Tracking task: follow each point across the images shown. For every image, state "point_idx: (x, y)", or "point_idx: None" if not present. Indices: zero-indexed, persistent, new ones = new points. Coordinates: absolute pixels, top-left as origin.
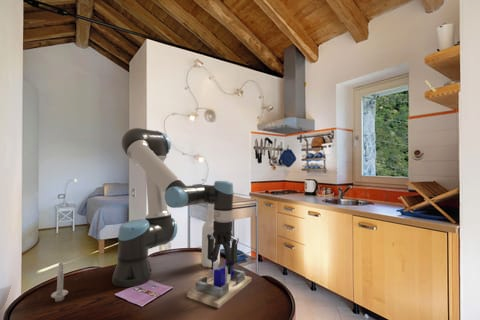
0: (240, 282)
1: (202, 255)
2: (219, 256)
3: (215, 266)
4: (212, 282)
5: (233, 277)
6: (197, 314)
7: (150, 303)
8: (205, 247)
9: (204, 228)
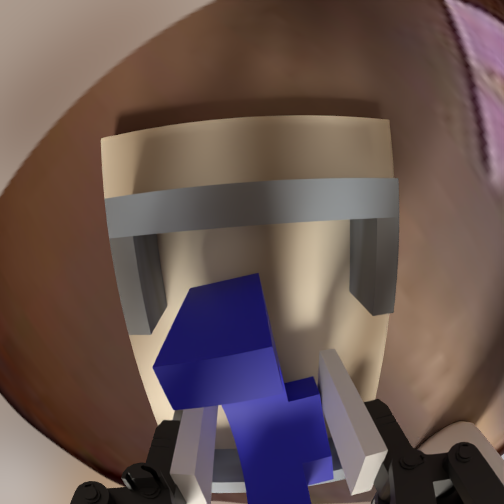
0: None
1: (489, 447)
2: None
3: (349, 435)
4: (337, 343)
5: None
6: (180, 27)
7: (441, 13)
8: None
9: None
